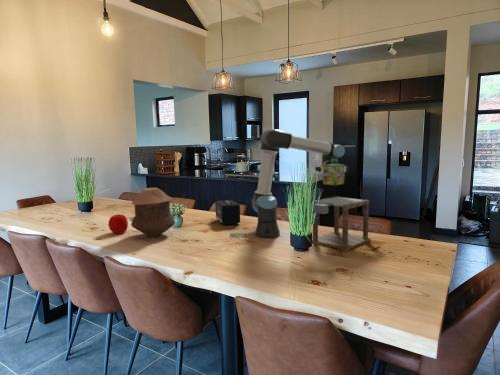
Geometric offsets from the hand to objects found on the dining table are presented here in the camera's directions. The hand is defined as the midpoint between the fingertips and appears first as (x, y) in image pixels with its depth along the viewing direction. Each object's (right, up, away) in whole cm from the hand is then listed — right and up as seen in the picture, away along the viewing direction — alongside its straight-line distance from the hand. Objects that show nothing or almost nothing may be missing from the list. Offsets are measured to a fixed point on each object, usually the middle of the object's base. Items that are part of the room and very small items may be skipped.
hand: (333, 169), depth 195 cm
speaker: (-64, -35, +49) cm, 88 cm away
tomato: (-133, -40, +26) cm, 141 cm away
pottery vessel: (-108, -40, +18) cm, 117 cm away
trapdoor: (-3, -21, -11) cm, 24 cm away
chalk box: (0, -9, +2) cm, 9 cm away
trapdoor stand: (+3, -41, -3) cm, 41 cm away
